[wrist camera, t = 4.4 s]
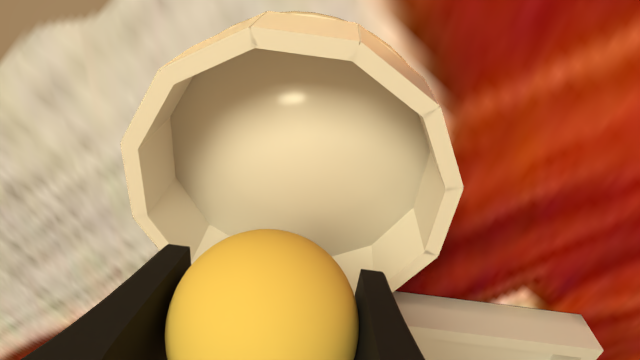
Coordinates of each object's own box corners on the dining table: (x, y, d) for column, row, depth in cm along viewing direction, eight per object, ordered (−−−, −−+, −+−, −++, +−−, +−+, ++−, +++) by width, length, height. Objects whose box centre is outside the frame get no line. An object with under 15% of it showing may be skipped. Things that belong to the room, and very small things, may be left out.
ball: (370, 205, 11) (384, 365, 7) (344, 319, 13) (342, 485, 9) (198, 183, 11) (107, 329, 7) (204, 301, 13) (141, 460, 9)
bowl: (472, 34, 15) (510, 61, 12) (400, 266, 21) (411, 328, 18) (154, -10, 15) (96, 5, 11) (177, 238, 21) (145, 295, 18)
